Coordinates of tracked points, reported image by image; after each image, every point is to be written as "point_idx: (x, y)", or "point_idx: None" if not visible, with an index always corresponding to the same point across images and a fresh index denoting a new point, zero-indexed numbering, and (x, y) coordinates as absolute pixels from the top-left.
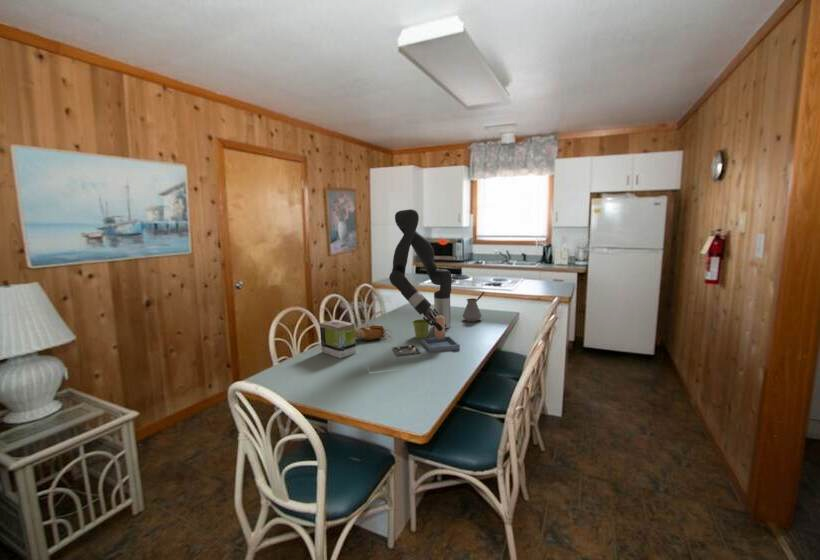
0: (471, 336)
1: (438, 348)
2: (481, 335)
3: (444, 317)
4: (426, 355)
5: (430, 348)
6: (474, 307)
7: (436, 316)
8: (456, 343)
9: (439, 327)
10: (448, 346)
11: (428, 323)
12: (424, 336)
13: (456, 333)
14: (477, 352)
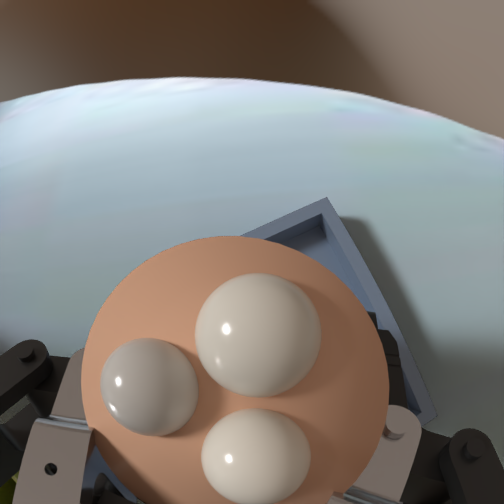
0: (66, 181)
1: (407, 356)
2: (64, 141)
3: (218, 240)
4: (456, 421)
5: (435, 412)
6: None
7: (274, 495)
8: (298, 222)
9: (398, 357)
10: (373, 279)
11: (15, 474)
12: None
13: (12, 269)
14: (346, 121)
